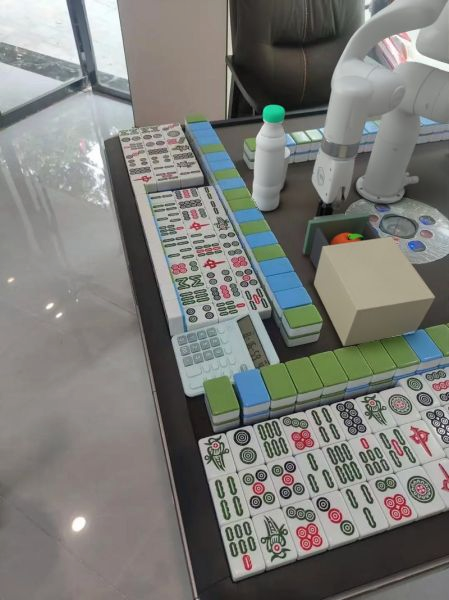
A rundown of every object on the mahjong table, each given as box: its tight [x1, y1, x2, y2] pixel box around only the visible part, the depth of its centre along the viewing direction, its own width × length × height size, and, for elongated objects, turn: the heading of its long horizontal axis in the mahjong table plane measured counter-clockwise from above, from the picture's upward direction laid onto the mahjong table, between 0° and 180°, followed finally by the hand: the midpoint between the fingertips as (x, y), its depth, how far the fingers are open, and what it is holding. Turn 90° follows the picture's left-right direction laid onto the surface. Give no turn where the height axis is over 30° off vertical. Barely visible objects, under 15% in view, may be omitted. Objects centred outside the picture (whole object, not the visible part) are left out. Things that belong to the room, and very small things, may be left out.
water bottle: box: [251, 104, 288, 212], centre depth 102 cm, size 7×7×25 cm
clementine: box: [330, 233, 365, 245], centre depth 92 cm, size 8×7×7 cm
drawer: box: [302, 212, 381, 271], centre depth 92 cm, size 20×14×9 cm
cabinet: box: [313, 236, 436, 347], centre depth 84 cm, size 17×15×11 cm
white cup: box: [280, 145, 291, 191], centre depth 113 cm, size 8×8×10 cm
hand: (323, 217), depth 100 cm, fingers closed
